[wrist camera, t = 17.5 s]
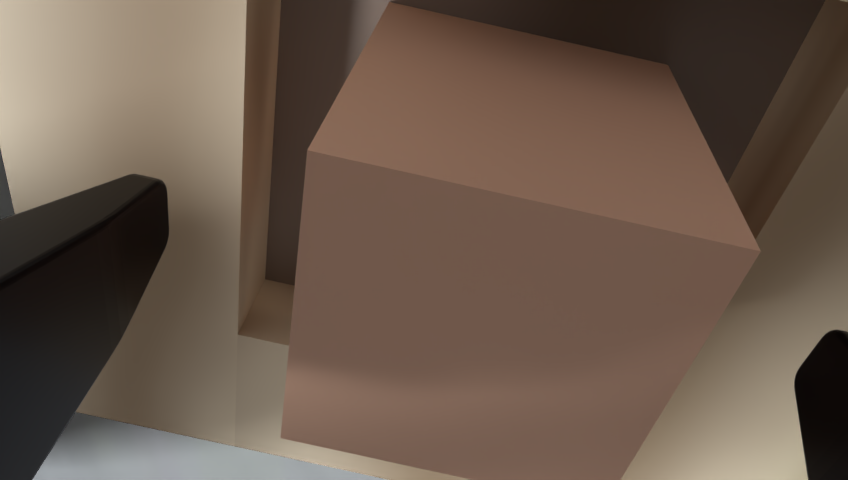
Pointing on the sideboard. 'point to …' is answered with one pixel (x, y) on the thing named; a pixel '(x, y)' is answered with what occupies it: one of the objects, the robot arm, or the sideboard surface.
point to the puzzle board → (285, 173)
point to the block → (503, 254)
